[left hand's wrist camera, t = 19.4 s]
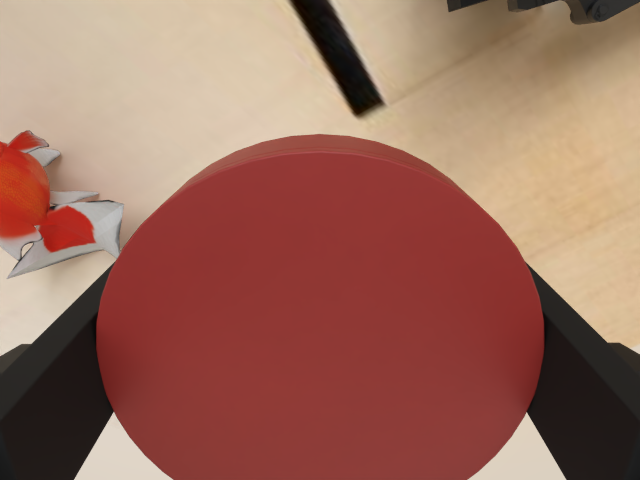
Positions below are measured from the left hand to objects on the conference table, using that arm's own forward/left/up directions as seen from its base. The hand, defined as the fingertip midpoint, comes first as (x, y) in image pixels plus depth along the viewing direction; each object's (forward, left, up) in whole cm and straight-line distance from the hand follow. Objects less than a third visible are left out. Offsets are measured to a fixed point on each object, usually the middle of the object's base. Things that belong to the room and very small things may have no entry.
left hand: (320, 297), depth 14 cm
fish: (-19, -6, -25) cm, 32 cm away
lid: (0, 0, +3) cm, 3 cm away
